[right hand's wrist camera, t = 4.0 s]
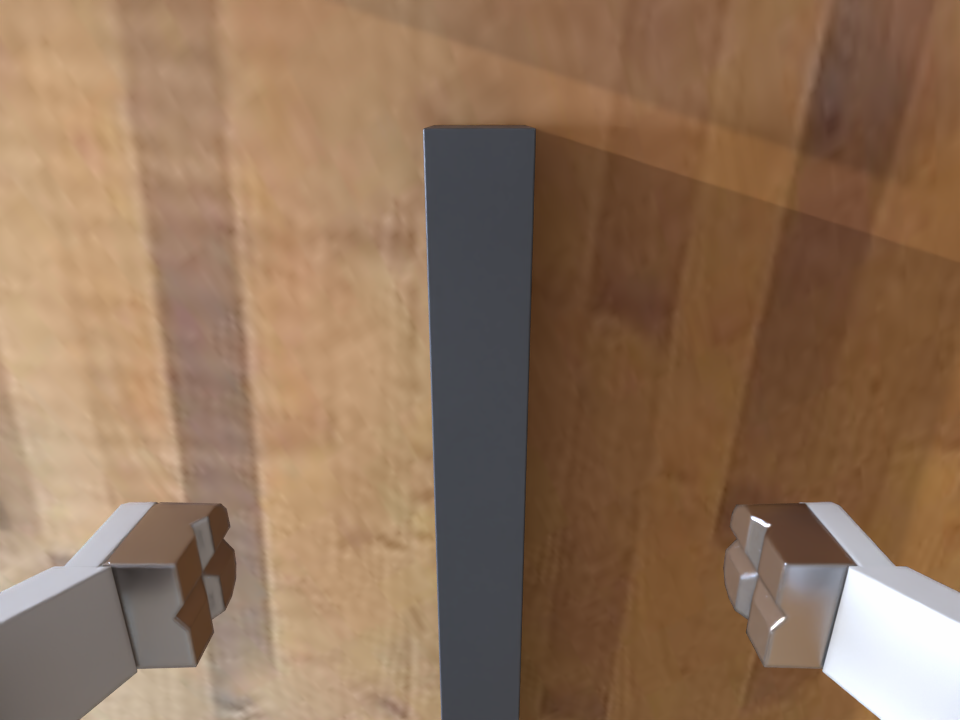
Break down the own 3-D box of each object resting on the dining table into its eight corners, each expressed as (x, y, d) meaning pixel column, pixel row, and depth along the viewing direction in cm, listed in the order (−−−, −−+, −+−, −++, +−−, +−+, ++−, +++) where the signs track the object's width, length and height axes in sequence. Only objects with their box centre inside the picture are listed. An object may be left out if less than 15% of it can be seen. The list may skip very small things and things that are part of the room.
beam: (432, 125, 33) (422, 128, 28) (526, 125, 33) (536, 128, 28) (454, 980, 61) (452, 1067, 55) (506, 980, 61) (509, 1067, 55)
